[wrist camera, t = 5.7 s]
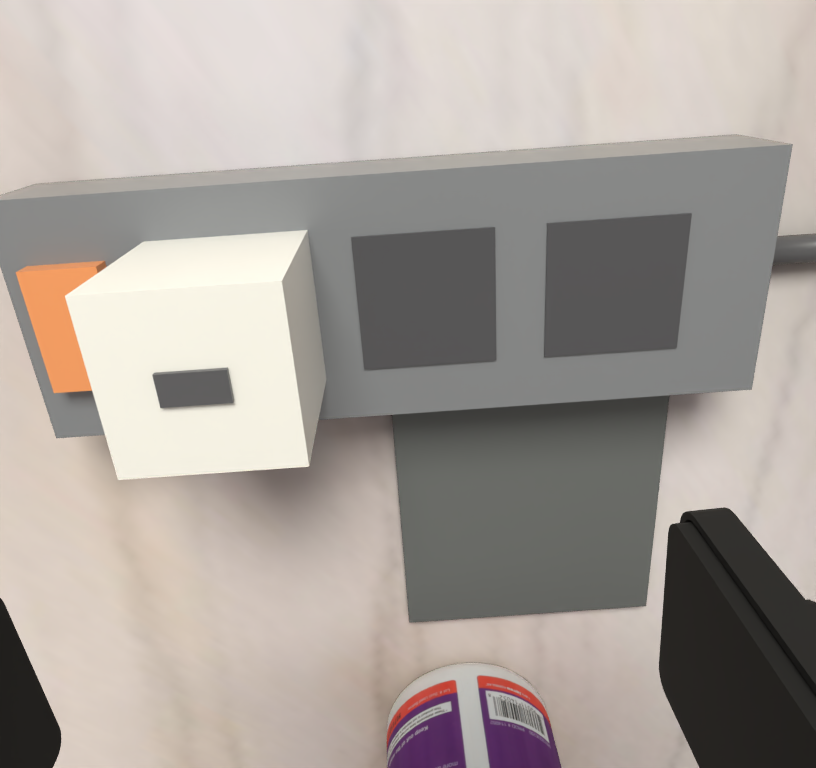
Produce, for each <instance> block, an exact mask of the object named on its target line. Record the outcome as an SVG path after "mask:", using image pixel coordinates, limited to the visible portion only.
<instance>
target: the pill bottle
mask: <svg viewBox="0 0 816 768" xmlns="http://www.w3.org/2000/svg"><path fill="white" fill-rule="evenodd" d="M387 768H561V764H560V760H559V756H558V752H557V749H556V745H555V741H554V737H553V733H552V729H551V725H550V720H549V717H548V714H547V711H546V708H545V705H544V703H543V701H542V699H541V697H540V695H539V694H538V692H537V691H536V690H535V688H534V687H533V686H532V685H531V684H530V683H529V682H527V681H526V680H525V679H524V678H522V677H521V676H519V675H518V674H516V673H514V672H512V671H510V670H508V669H506V668H504V667H500V666H497V665H491V664H485V663H459V664H453V665H448V666H444V667H441V668H438V669H435V670H433V671H430V672H428V673H426V674H424V675H422V676H421V677H419V678H418V679H416V680H415V681H413V682H412V683H411V684H410V685H408V686H407V687H406V688H405V689H404V690H403V691H402V692H401V694H400V695H399V696H398V698H397V699H396V701H395V703H394V705H393V707H392V709H391V711H390V715H389V718H388V724H387Z"/></svg>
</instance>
